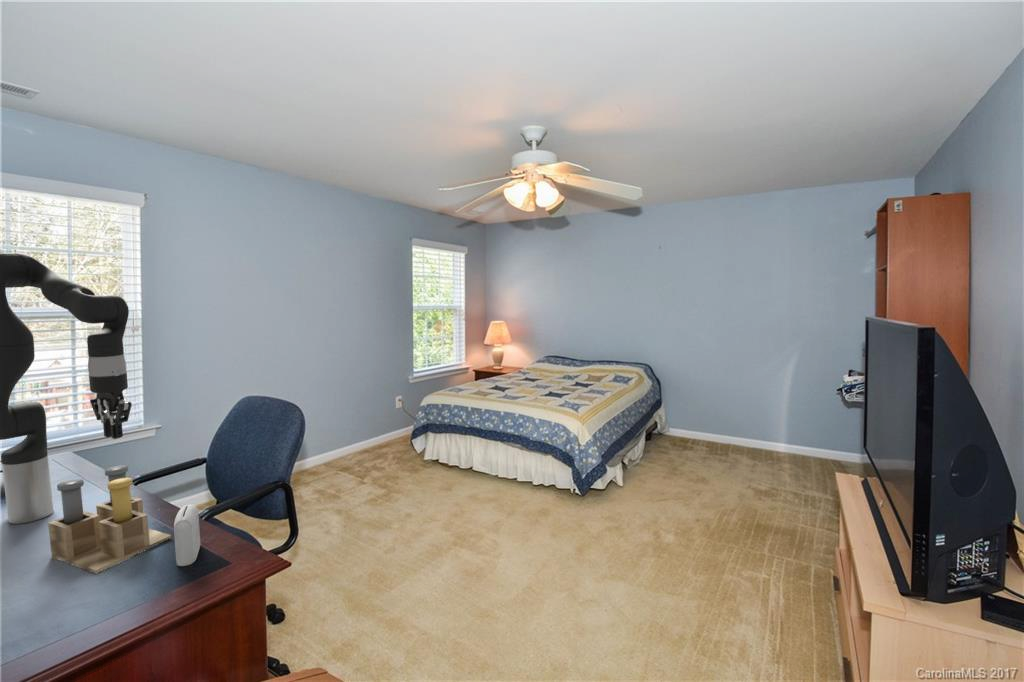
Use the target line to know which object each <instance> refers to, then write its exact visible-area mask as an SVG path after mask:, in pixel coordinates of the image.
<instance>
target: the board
mask: <svg viewBox="0 0 1024 682" xmlns="http://www.w3.org/2000/svg"><path fill="white" fill-rule="evenodd" d="M131 506H132V517H133V518H132V519H130V520H127V521H125V522H123V523H119V524H117V523H114V516H113V507H112V506H111V502H110V500H107V501H105V502H102V503H100V504H96V505H95V508H96V513H92V512H90V511H86V510H83V514H84V519H83V520H80V521H78V522H75V523H72V524H70V525H66V524H64V516H63V517H61V518H57V519H55V520H53V521H52V520H51V521H50V522H48V523H47V525H48V534H49V543H50V551H51V553H50V554H51V558H52V557H54V558H53V559H55V558H57V559H56V560H58V559H60V560H62V561H61V562H63V561H65V562H68V563H70V564H69V565H71V564H73V565H75V566H74V567H76V566H77V568H78V567H80V568H79V569H81V568H83V569H82V570H84V569H86V570H88V571H87V572H89V571H91V572H94V573H96V574H95V575H98V574H99V573H98V572H100V571H102V570H104V571H106V570H105V569H106V568H109V567H111V566H113V565H115V564H117V563H119V562H121V561H123V562H125V561H124V560H126V559H128V558H130V557H132V556H134V555H136V554H138V553H140V552H142V551H144V550H146V549H148V548H150V547H152V546H154V545H156V544H159V543H161V542H163V541H165V540H168V539H170V538H171V539H172V534H169V533H165V532H161V531H159V530H155V529H152V528H150V527H149V520H148V518H149V517H148V514H146V513H144V505H143V499H142V498H140V497H136V496H131ZM171 539H170V540H171ZM168 541H169V540H168ZM161 544H162V543H161ZM159 545H160V544H159ZM142 553H143V552H142ZM140 554H141V553H140ZM138 555H139V554H138ZM136 556H137V555H136ZM134 557H135V556H134ZM132 558H133V557H132ZM130 559H131V558H130ZM60 560H59V561H60ZM128 560H129V559H128ZM126 561H127V560H126ZM65 562H64V563H65ZM68 563H67V564H68ZM121 563H122V562H121ZM119 564H120V563H119ZM73 565H72V566H73ZM117 565H118V564H117ZM115 566H116V565H115ZM113 567H114V566H113ZM111 568H112V567H111ZM109 569H110V568H109ZM86 570H85V571H86ZM91 572H90V573H91ZM102 572H103V571H102ZM94 573H93V574H94ZM97 573H98V574H97ZM100 573H101V572H100Z"/></svg>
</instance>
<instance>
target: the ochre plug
mask: <svg viewBox="0 0 1024 682" xmlns="http://www.w3.org/2000/svg"><path fill="white" fill-rule="evenodd" d="M133 483H134V482H133V478H131V477H126V478H121V479H116V480H113V481H111V482H109V481H108V483H106V484H107V489H108V490H109V489H110V490H111V494H112V505H113V516H114V523H117V524H119V523H123V522H125V521H127V520H130V519H132V518H133V517H132V506H131V486H132V485H133Z"/></svg>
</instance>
